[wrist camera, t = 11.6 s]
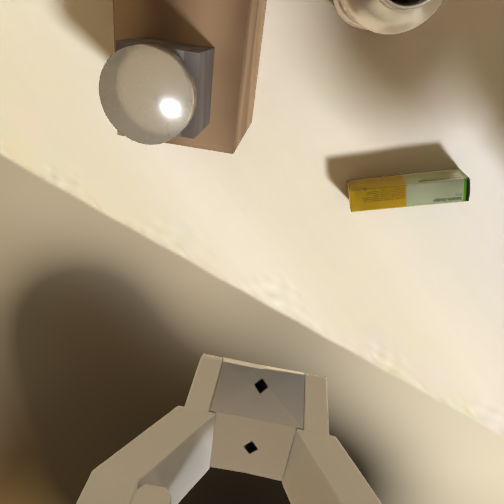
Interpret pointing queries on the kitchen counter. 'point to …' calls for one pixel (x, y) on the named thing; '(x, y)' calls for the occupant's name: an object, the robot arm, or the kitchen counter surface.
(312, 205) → the kitchen counter surface
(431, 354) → the kitchen counter surface
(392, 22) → the plastic bottle
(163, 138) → the grey plunger
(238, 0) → the stand
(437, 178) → the medication box
